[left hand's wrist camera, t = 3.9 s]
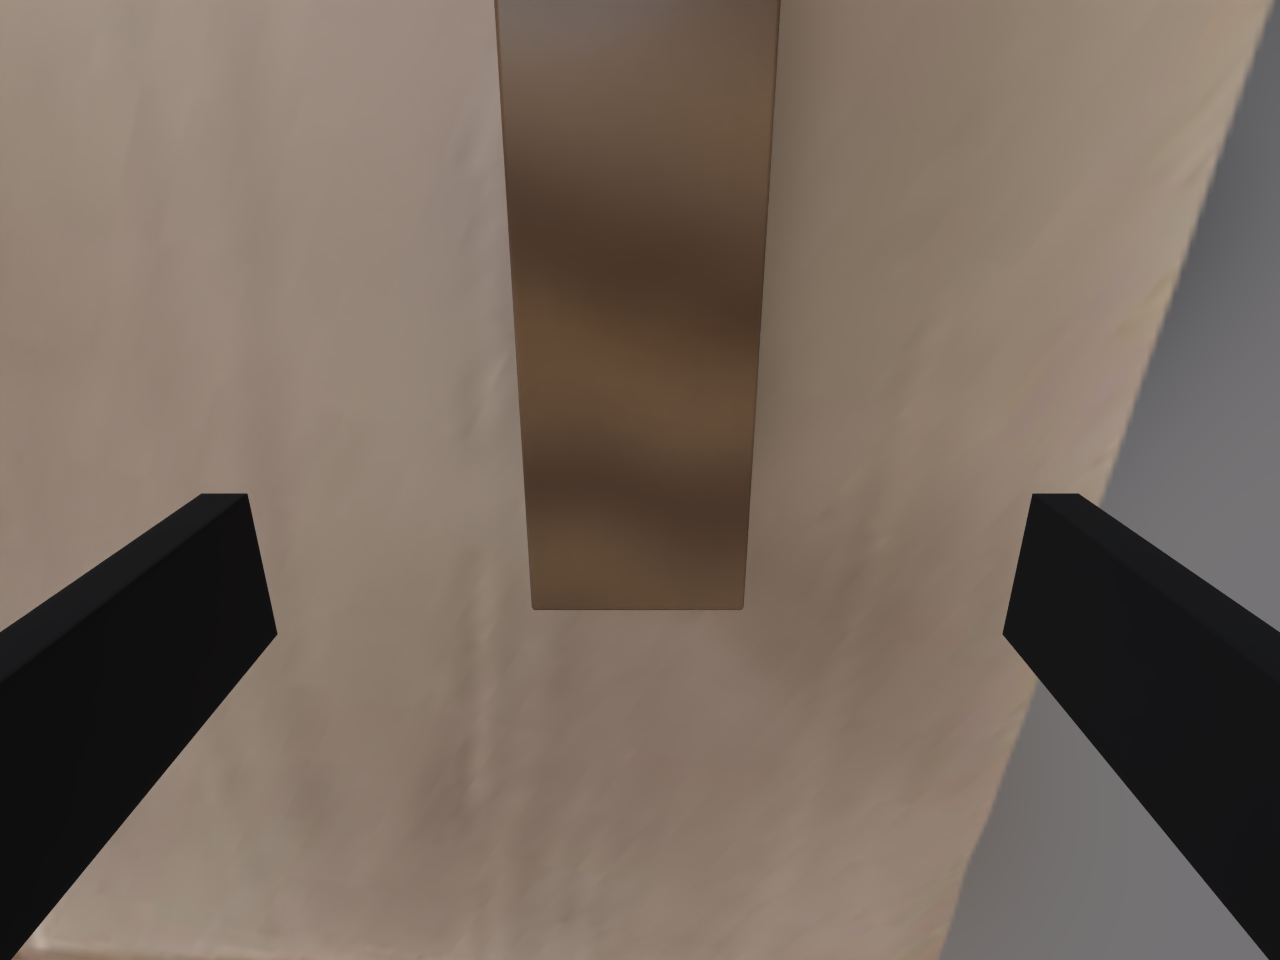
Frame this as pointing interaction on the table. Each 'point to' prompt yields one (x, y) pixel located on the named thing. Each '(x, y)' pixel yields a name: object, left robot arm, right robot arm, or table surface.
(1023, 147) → the table surface
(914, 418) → the table surface
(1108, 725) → the left robot arm
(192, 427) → the table surface
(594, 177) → the bar
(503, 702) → the table surface
